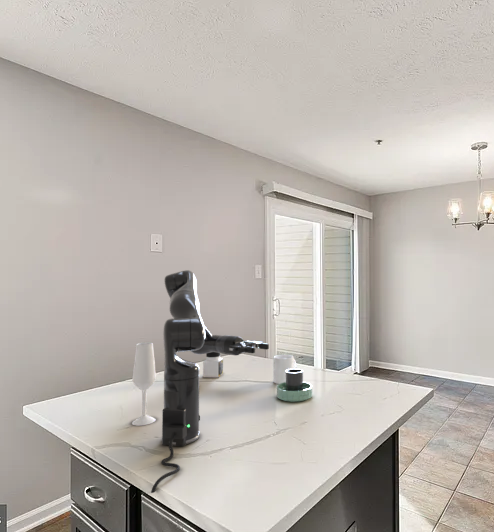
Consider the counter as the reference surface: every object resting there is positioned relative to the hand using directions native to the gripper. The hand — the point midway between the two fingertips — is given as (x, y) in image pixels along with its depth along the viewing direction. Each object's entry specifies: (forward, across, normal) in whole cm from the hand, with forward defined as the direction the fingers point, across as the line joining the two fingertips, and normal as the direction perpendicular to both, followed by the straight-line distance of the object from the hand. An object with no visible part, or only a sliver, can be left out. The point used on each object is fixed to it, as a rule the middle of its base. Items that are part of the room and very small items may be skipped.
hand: (261, 348), depth 145 cm
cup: (+13, +3, +17) cm, 21 cm away
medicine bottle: (-35, +10, +17) cm, 41 cm away
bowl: (+13, +3, +17) cm, 22 cm away
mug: (-1, +19, +17) cm, 25 cm away
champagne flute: (-15, -40, +17) cm, 46 cm away
